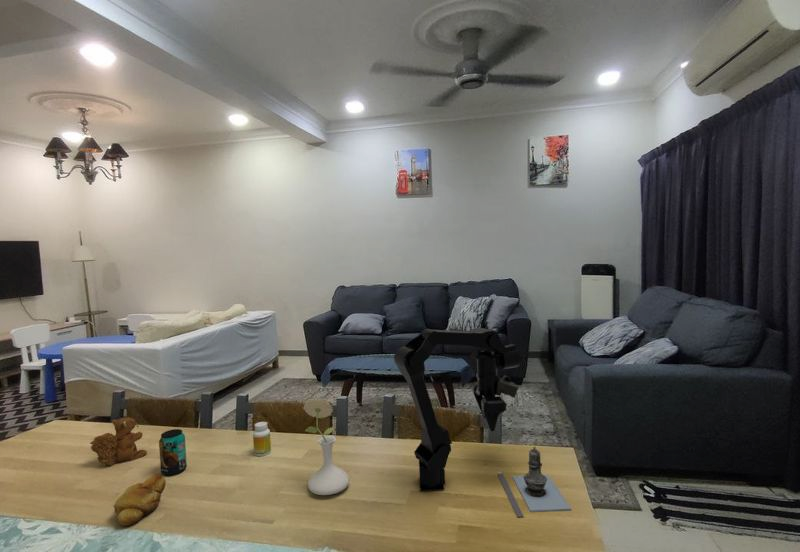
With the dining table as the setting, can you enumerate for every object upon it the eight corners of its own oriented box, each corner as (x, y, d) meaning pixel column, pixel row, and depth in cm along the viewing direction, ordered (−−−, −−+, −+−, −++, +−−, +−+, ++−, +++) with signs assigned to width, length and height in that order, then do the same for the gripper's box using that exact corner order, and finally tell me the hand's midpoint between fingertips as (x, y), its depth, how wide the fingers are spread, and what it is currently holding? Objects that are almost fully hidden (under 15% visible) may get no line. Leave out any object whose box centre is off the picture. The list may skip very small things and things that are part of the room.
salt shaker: (529, 499, 108) (528, 452, 107) (520, 486, 114) (519, 442, 113) (551, 496, 109) (550, 450, 108) (540, 484, 114) (539, 440, 114)
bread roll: (137, 530, 102) (135, 498, 102) (99, 529, 103) (97, 497, 103) (170, 499, 115) (168, 470, 115) (136, 499, 116) (134, 470, 115)
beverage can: (155, 474, 129) (153, 436, 128) (175, 464, 135) (173, 427, 134) (172, 478, 126) (169, 439, 125) (192, 467, 132) (189, 429, 132)
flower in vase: (357, 481, 120) (353, 394, 119) (334, 503, 110) (330, 408, 109) (319, 473, 126) (315, 390, 124) (294, 493, 115) (289, 403, 114)
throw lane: (517, 517, 101) (517, 516, 101) (497, 474, 121) (497, 473, 121) (574, 515, 101) (574, 513, 101) (545, 472, 121) (545, 471, 121)
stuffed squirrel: (149, 454, 143) (147, 415, 142) (103, 473, 131) (99, 431, 130) (134, 448, 148) (131, 411, 148) (88, 465, 136) (85, 425, 136)
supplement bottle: (268, 456, 138) (266, 427, 137) (251, 456, 138) (249, 427, 137) (273, 448, 143) (271, 420, 143) (257, 449, 143) (255, 421, 143)
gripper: (524, 380, 114) (525, 436, 115) (506, 362, 133) (507, 411, 134) (483, 381, 114) (485, 438, 115) (471, 364, 133) (472, 413, 134)
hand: (488, 424), depth 124 cm, fingers open, 9 cm apart
